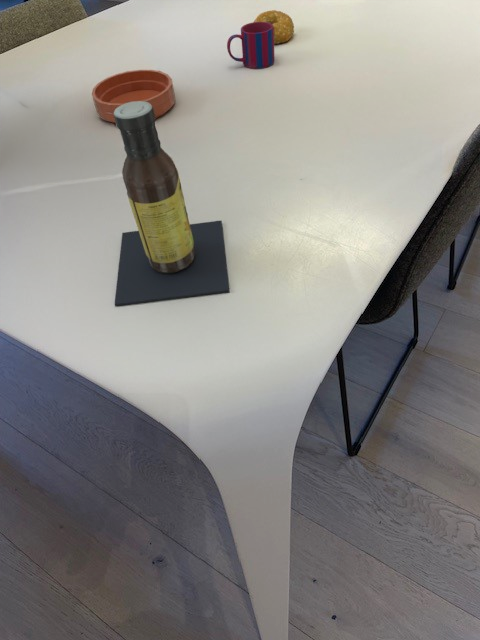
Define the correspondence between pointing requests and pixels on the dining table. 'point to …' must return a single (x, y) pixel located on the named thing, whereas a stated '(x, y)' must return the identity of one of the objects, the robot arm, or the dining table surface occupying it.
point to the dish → (133, 92)
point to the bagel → (278, 24)
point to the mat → (194, 280)
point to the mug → (255, 45)
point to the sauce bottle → (154, 190)
